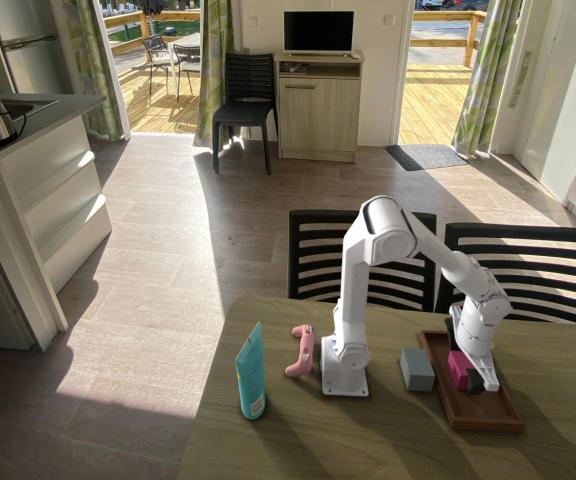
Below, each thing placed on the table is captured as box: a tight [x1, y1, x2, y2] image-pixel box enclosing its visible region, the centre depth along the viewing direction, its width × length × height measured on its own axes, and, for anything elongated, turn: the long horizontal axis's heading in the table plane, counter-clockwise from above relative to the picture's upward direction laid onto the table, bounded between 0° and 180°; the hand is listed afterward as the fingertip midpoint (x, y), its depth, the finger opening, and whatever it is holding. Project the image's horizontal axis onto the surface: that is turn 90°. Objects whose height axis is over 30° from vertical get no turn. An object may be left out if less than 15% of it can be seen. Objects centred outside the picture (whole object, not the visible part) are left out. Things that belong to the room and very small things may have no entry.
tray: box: [419, 329, 525, 433], centre depth 64 cm, size 13×16×3 cm
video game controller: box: [284, 323, 317, 378], centre depth 68 cm, size 10×5×7 cm, turn 168°
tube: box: [234, 320, 266, 420], centre depth 57 cm, size 7×5×19 cm, turn 156°
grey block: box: [399, 347, 435, 392], centre depth 64 cm, size 5×5×5 cm
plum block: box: [447, 351, 476, 390], centre depth 63 cm, size 4×4×4 cm
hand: (463, 370), depth 63 cm, fingers open, 7 cm apart
